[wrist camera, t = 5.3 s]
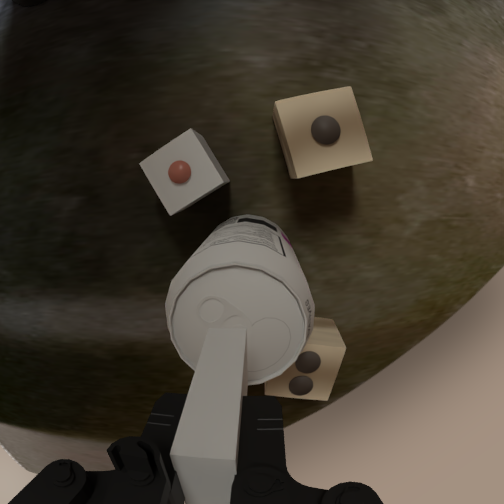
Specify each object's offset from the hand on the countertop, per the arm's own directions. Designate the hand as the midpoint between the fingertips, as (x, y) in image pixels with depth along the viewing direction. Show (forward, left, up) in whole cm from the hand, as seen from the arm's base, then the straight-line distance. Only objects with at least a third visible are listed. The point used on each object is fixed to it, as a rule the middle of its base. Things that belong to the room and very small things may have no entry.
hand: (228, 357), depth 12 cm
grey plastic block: (-8, -5, -18) cm, 20 cm away
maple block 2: (+9, +5, -18) cm, 21 cm away
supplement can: (0, 0, -18) cm, 18 cm away
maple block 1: (-11, +6, -18) cm, 22 cm away
